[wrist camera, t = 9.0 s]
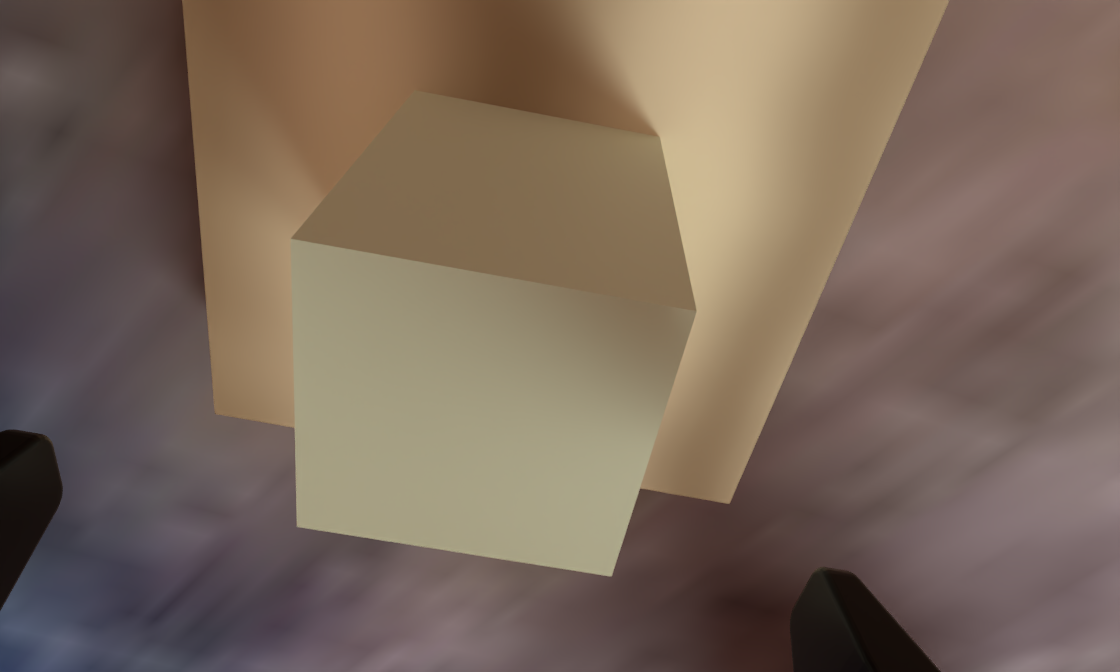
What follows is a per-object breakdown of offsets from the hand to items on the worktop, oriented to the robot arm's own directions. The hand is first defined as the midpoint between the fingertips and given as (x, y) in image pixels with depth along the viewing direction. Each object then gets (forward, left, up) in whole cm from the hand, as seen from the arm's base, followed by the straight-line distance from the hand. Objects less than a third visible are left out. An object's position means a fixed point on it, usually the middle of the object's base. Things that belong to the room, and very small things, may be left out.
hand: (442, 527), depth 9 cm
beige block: (0, 0, -9) cm, 9 cm away
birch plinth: (0, 0, -12) cm, 12 cm away
